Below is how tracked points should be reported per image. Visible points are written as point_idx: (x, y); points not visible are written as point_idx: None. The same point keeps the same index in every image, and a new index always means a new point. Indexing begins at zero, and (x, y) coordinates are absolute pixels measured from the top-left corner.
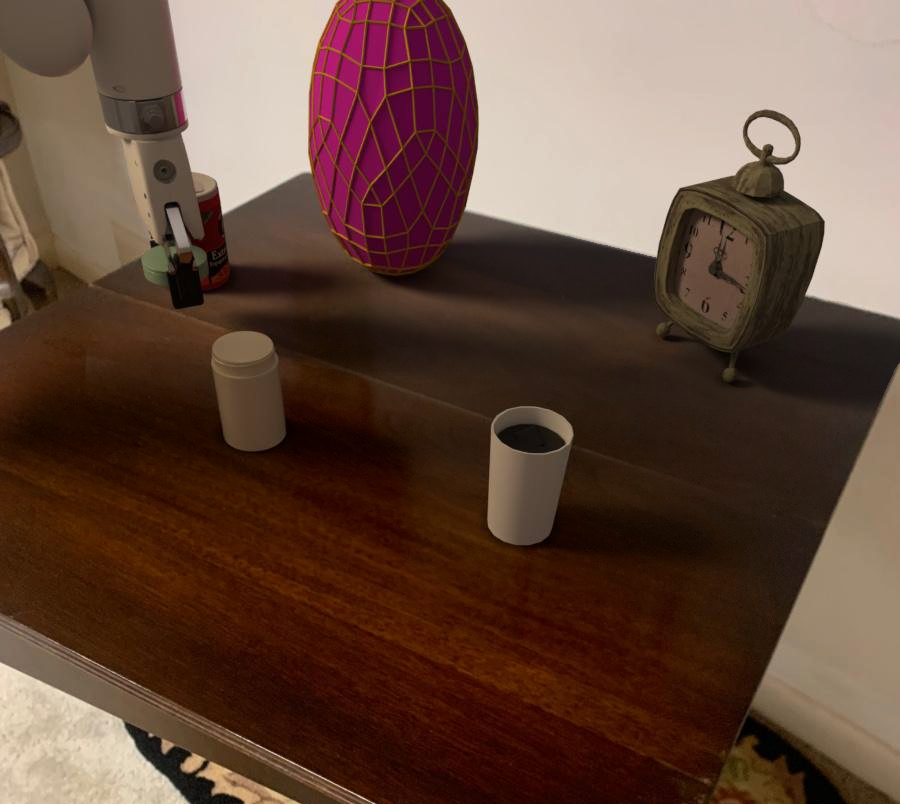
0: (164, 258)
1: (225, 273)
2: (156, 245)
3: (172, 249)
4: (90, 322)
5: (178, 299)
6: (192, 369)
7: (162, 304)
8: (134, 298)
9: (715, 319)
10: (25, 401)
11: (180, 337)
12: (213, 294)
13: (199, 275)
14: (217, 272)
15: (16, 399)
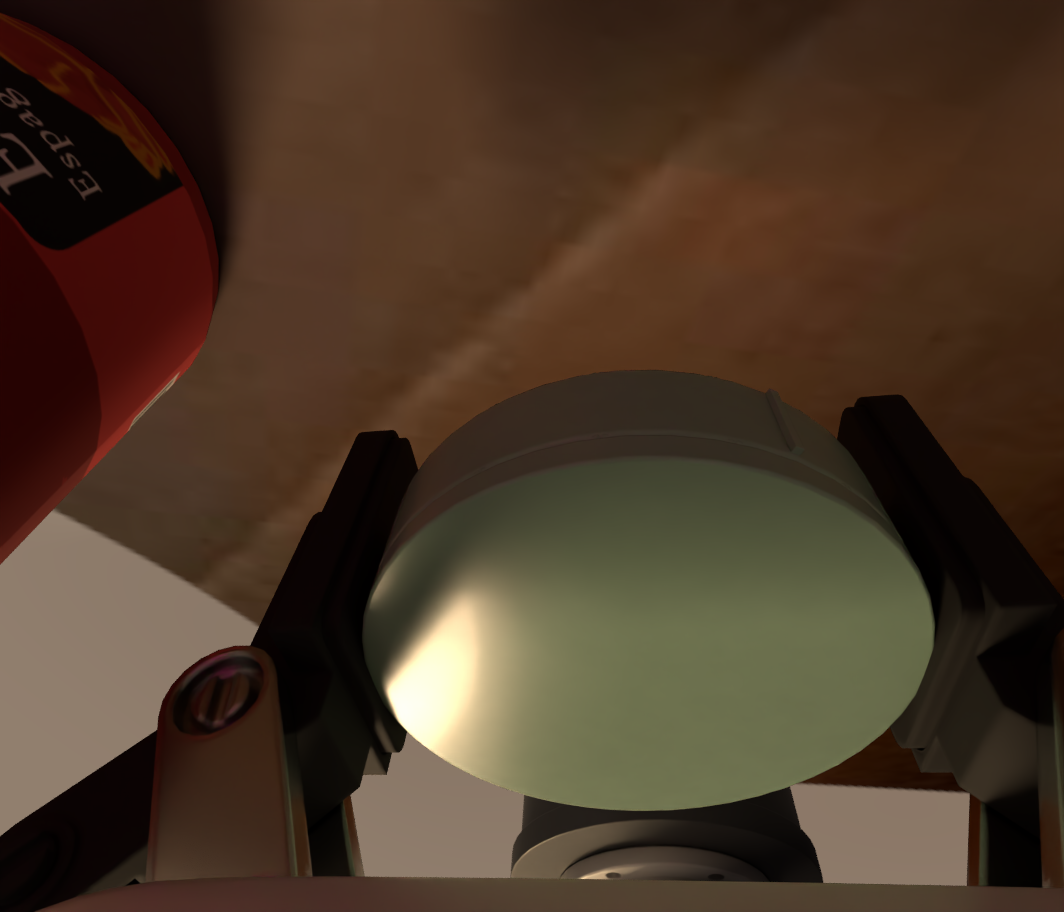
0: (640, 727)
1: (44, 50)
2: (395, 732)
3: (489, 671)
4: None
5: None
6: (986, 383)
7: (346, 420)
8: (287, 506)
9: None
10: (849, 766)
11: None
12: (241, 160)
13: (1010, 543)
14: (98, 127)
15: (827, 776)
